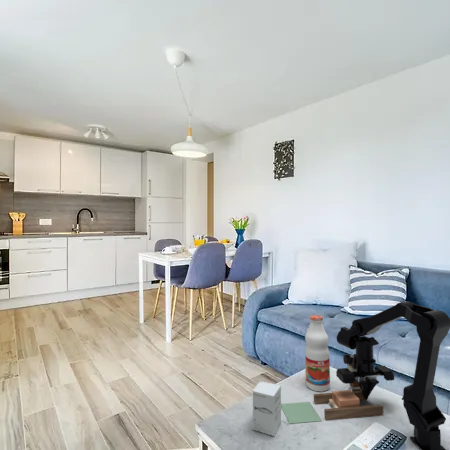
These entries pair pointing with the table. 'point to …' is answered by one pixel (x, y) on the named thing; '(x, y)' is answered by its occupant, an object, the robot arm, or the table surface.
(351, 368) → the food container
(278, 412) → the supplement box
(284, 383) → the table surface
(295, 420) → the pad
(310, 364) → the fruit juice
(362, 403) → the trap pit
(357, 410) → the channel
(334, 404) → the block
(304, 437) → the table surface
